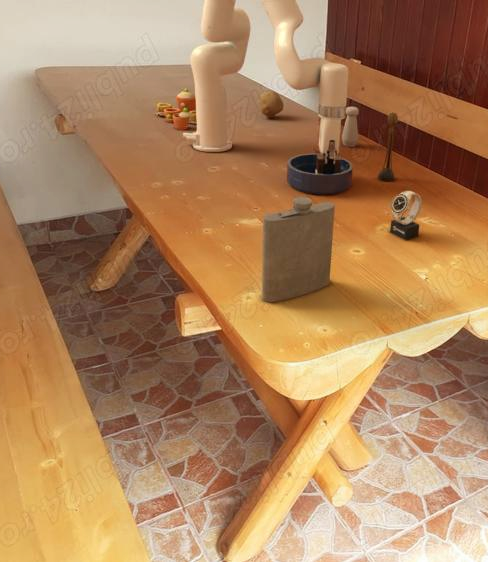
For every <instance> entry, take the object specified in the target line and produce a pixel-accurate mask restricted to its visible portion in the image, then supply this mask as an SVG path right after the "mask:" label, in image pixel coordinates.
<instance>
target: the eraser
mask: <svg viewBox="0 0 488 562" xmlns="http://www.w3.org/2000/svg"><path fill="white" fill-rule="evenodd" d="M328 157H329V156H327V158H328ZM340 157H341V156H340V155H335V174H337V173H340V171H341V158H342V157H341V158H340ZM324 164H325V155H317V164H316V169H315V174H323V169H324Z"/></svg>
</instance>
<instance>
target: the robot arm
mask: <svg viewBox="0 0 488 562" xmlns="http://www.w3.org/2000/svg"><path fill="white" fill-rule="evenodd" d="M260 2H261V3H262V6H263V8H264V10H265V12H266V14H267V16H268V18H269V20H270V23H271V25H272V27H273V29H274V38H273V53H274V59H275V63H276V65H277V67H278V69H279V71H280V74H281V76H282V77H283V79H284V81H285V82H286V84H287V85H288V86H289V87H290V88H292V89H293V90H296V91H302V90H306V89H313V88H318V87H319V93H318V94H319V95H318V107H317V108H318V110H317V116H318V118H320V121H319V122H320V124H319V135H318V148H319V152H320V154H323V155H325V164H324V169H323V174H335V156H338V154H339V151H340V142H341V129H342V120H344V119H345V118H346V115H347V114H346V108H347V100H348V88H349V72H350V71H349V68H348V66H347V65H345V64H342V63H339V62H338V63H337V62H331V61H329V60H327V59H325V58H322V57H311V58H304V59H301V58H300V56H299V54H298V52H297V50H296V47H295V44H294V35H295V31H296V30H297V29H299V27H300V26H301V25H302V24H303V22H304V15H303V13H302V11H301V8H300V7H299V5H298V2H297V0H260ZM235 5H236V0H204V3H203V8H202V9H203V10H202V16H201V22H200V32H201V35H202V37H203V39H204V40H206V42H209V43H207V44H201V45H199V46H197V47H195V48H194V49H193V51H192V52H191V54H190V67H191V72H192V76H193V82H194V95H195V98H196V119H197V124H196V131H193V132H192V133H189V132H183V133H182V139H183V140H186V141H188V142H189V141H190V142H191V141H192V147H193V149H195V150H197V151H201V152H206V153H221V152H225V151H229V150H231V149H232V148H233V143H232V141H231V140H229V139H228V112H227V109H228V108H227V104H228V103H227V90H226V87H225V84H224V82H223V81H222V78H221V77H223V76H227V75H233V74H236V73H238V72H239V71H241V70H242V68H243V66H244V64H245V60H246V55H247V51H248V45H249V41H250V36H251V21H250V18H249V15H248V14H247V12H246V11H245V10H244V9H242V8H240V7H237V6H235ZM327 156H329V157H328V158H327Z"/></svg>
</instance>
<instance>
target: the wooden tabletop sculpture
mask: <svg viewBox="0 0 488 562" xmlns="http://www.w3.org/2000/svg"><path fill="white" fill-rule="evenodd" d="M387 123H388V125H389V126H390V127H389V128H388V136H387V137H388V138H387V146H386V152H385V153H386V154H385V158H384V164H383V167H382V169H381V170H380V172H379V173H378V177H377V179H378V180H379V181H381V182H387V183H388V182H389V183H390V182H394V180H395V173H394V171H393V165H392V164H393V163H392V161H393V160H392V159H393V158H392V157H393V143H394V134H395V129H394V127H396V125H397V126H399V125H400V124H401V122H400V120H399V117H398V115H397V113H396V112H390V113H389V114H388V115H387Z"/></svg>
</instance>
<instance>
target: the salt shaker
mask: <svg viewBox="0 0 488 562" xmlns="http://www.w3.org/2000/svg"><path fill="white" fill-rule="evenodd" d="M359 111H360V110H359V108H358V107H356V106H348V107H347V106H346V114H345V115H346V117H345V118H346V119H345V121H344V122H345V123H344V126H343V131H342V135H341V142H342V144H343V146H344V147H346V148H347V147H348V148H354V147H356V146H357V144H358V142H359V139H360V138H359V131H358V130H359V129H358V122H357V121H358V120H357V119H358V118H357V116H358V115H359Z"/></svg>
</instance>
